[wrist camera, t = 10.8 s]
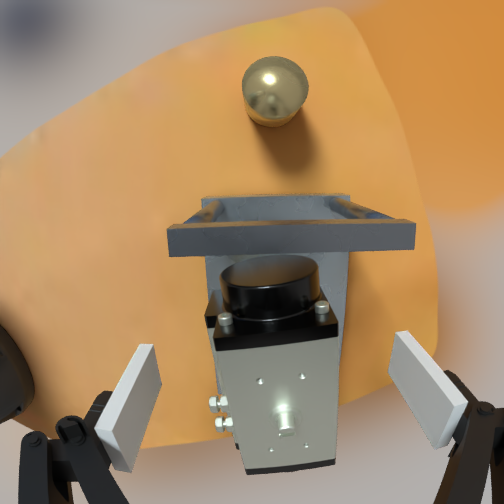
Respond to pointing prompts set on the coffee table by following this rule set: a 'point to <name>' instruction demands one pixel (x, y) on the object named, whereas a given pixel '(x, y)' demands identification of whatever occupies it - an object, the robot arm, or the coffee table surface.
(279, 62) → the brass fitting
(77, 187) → the coffee table surface
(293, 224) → the dolly
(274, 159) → the coffee table surface
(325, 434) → the pneumatic valve
